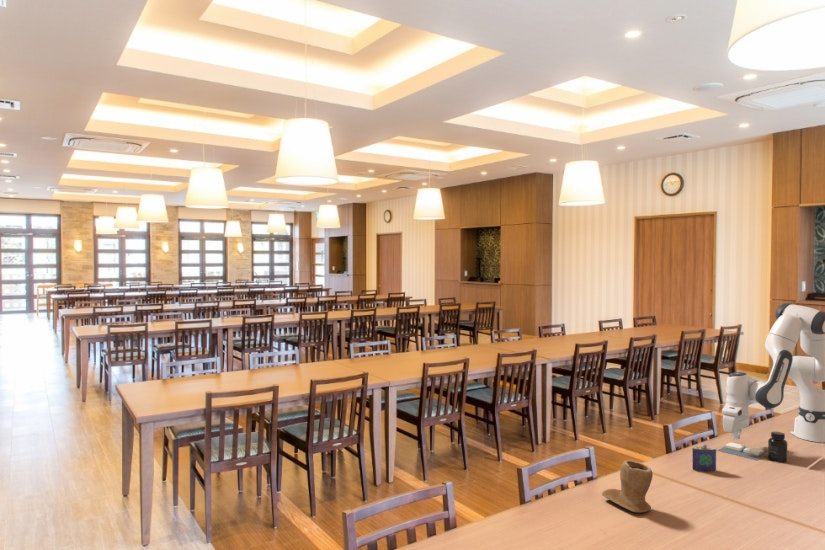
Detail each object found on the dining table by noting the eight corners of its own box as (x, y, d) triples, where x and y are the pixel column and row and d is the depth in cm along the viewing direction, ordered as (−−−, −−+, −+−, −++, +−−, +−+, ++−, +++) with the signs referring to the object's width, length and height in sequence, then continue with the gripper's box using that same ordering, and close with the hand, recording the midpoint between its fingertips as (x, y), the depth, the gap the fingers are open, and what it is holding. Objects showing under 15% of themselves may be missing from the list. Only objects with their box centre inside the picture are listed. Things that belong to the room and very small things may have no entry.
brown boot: (660, 511, 184) (660, 467, 184) (633, 517, 179) (634, 472, 179) (626, 494, 198) (626, 452, 198) (600, 499, 193) (601, 457, 193)
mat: (731, 444, 253) (731, 443, 253) (770, 453, 240) (770, 452, 240) (716, 451, 243) (716, 450, 243) (757, 462, 230) (757, 460, 230)
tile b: (730, 442, 250) (725, 444, 246) (745, 445, 245) (739, 448, 241) (730, 445, 250) (725, 448, 246) (744, 448, 245) (739, 451, 241)
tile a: (748, 446, 244) (743, 449, 240) (763, 450, 239) (758, 452, 235) (748, 449, 244) (743, 452, 240) (763, 453, 239) (758, 456, 235)
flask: (714, 469, 222) (714, 443, 222) (718, 471, 219) (718, 445, 219) (691, 468, 223) (691, 442, 222) (694, 471, 220) (694, 445, 220)
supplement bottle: (791, 464, 228) (791, 435, 228) (774, 463, 228) (774, 435, 228) (780, 458, 235) (780, 430, 235) (764, 458, 235) (764, 430, 235)
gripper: (738, 403, 255) (738, 432, 256) (720, 410, 242) (719, 441, 243) (753, 406, 250) (753, 436, 251) (735, 413, 237) (735, 445, 238)
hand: (736, 438), depth 247 cm, fingers closed
